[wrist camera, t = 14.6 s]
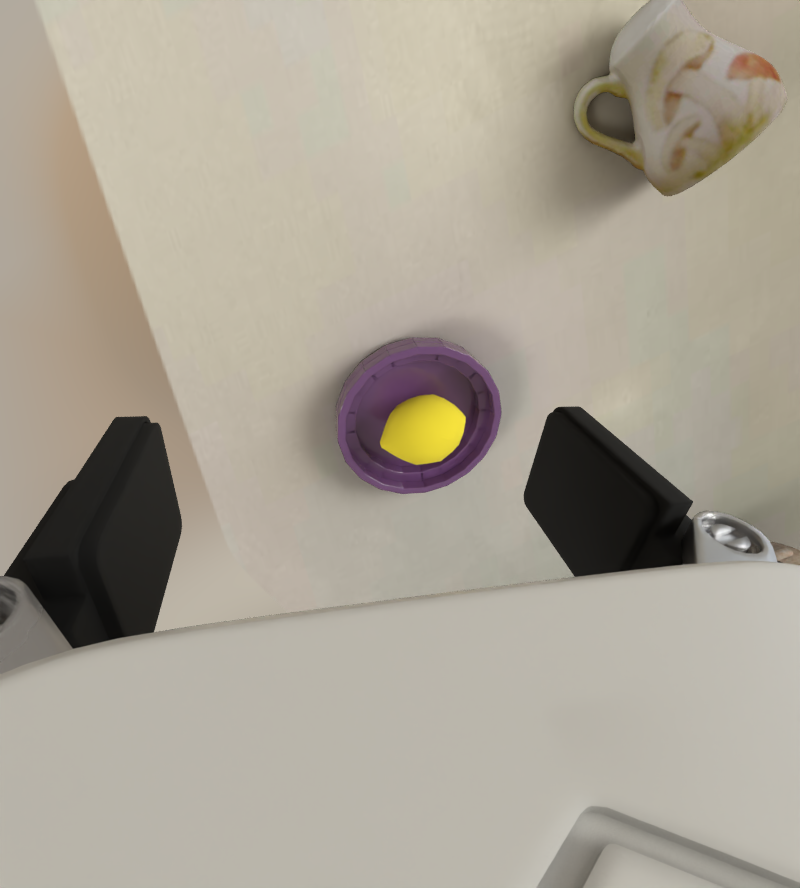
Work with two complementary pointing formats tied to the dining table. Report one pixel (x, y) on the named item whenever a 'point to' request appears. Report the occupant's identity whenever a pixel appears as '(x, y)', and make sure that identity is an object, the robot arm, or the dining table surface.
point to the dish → (399, 379)
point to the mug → (682, 96)
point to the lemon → (423, 429)
